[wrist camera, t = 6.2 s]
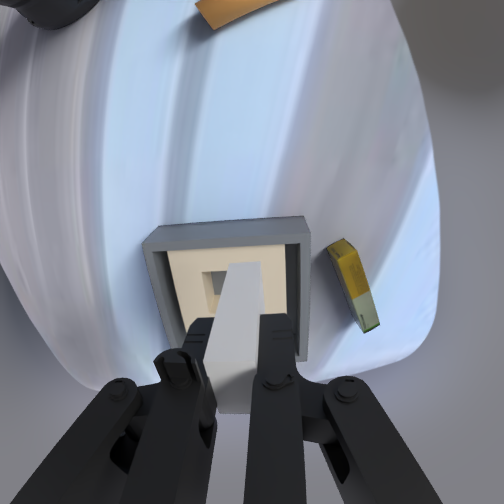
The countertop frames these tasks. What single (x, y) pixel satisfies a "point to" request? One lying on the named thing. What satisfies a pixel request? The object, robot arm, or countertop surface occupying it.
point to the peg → (227, 10)
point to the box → (216, 265)
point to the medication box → (354, 284)
